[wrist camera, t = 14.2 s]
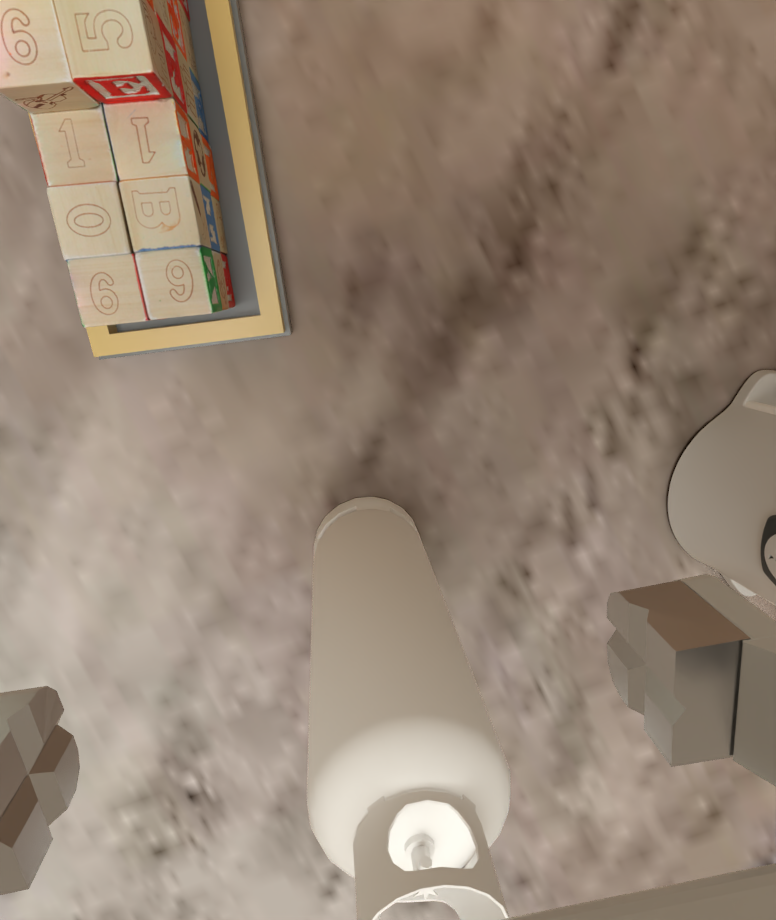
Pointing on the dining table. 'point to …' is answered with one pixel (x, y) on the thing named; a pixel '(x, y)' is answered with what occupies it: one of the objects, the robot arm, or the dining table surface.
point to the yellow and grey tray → (223, 204)
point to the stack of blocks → (121, 153)
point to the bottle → (398, 724)
